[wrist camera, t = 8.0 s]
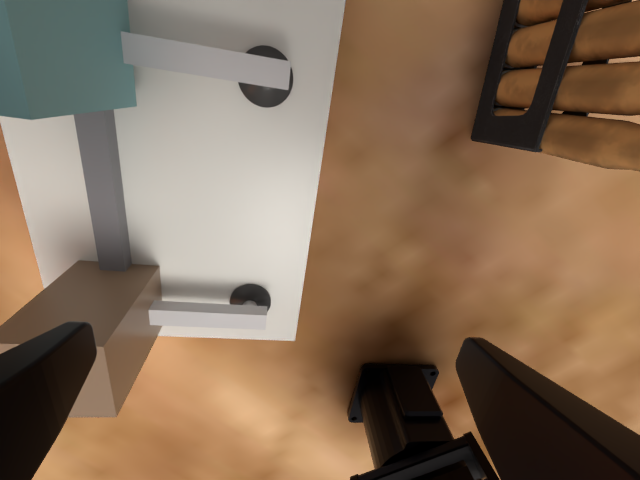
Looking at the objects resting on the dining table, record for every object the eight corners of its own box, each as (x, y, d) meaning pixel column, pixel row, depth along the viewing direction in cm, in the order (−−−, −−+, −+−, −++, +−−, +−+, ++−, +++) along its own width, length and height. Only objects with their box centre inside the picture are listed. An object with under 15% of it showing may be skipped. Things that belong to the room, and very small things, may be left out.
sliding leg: (284, 126, 14) (285, 153, 8) (36, 90, 13) (-179, 92, 7) (294, 21, 13) (304, -37, 7) (9, -35, 11) (-306, -177, 5)
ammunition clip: (531, -119, 13) (1510, -929, 3) (570, -114, 14) (1622, -848, 3) (469, 140, 18) (742, 217, 7) (499, 141, 18) (808, 217, 8)
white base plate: (293, 320, 22) (299, 430, 15) (75, 310, 20) (-39, 433, 13) (344, -35, 14) (409, -164, 7) (-20, -120, 12) (-490, -443, 5)
